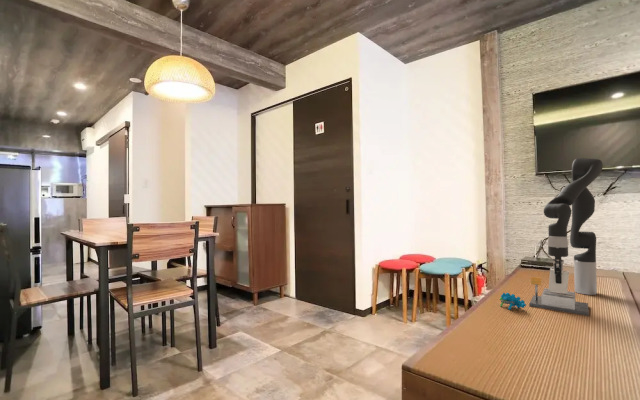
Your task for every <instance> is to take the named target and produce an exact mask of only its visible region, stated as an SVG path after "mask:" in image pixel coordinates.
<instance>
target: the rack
mask: <svg viewBox="0 0 640 400" xmlns="http://www.w3.org/2000/svg"><path fill="white" fill-rule="evenodd" d="M530 279H531V280H530V284H531V285H534V295H532V298H531V300H530V301H529V303H528V304H529V307H531V308H538V309H545V310H550V311H556V312H563V313H568V314H573V315H580V316H584V317H585V316H587V317H589V315H590V314H589V313H590V311H589V310H590V309H589V302H588V303H587V302H582V301H576V292H575V291H568V290H567V294H565V293H560V292H555V291H551V290H548V288H546V287H544V288H543V291H542V292H541V295H539V292H538V286H542V277H538V276H531V277H530Z"/></svg>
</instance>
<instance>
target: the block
mask: <svg viewBox="0 0 640 400" xmlns="http://www.w3.org/2000/svg"><path fill="white" fill-rule="evenodd" d="M554 272H555V270H554V268H551V267H550V268H549V277H548V288H547V289H548V290H551V291H555V292H560V293H565V294H567V291H568V287H569V277H570V271H567V270H564V269H563V270H562V276H561V280H562V283H561V284H559V283H556V278H555V273H554ZM556 272H560V271H556Z"/></svg>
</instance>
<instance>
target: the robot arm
mask: <svg viewBox="0 0 640 400" xmlns="http://www.w3.org/2000/svg"><path fill="white" fill-rule="evenodd" d="M603 168H604V167H603V162H602V160H601V159H597V158H587V157H586V158H585V157H580V158H579V157H577V158H575V159H574V160H573V162H572V164H571V181H572V182H570V183H568V184H567V185H565V186H563V188H562V189H561V191H560V192H559V193H558V195H557V196H555V197H554V198H552V199H551V200H550V201H549V202H547V203H546V204H545V206H544V208H543V214H544V216H545V217H546V218H549V219H557V221H556V222H555V223H550V224H548V229H547V231H548V239H547V252H548V254H547V255H548V256H549V257H550V256H551V257H554V259H553V260H552V263H553V269H554V270H555V272H554V273H555V278H556V283H559V284H561V283H562V280H561V276H562V270H563V271H564V265H565V264H564V263H565V262H564V259H562V258H567V257H569V242H570V246H571V247H572V248H575V249H587V250H586V251H585V252H582V253H576V254H574V256H573V272H574V276H573V277H574V280H573V281H574V284H573V285H574V292H575V293H577V294H583V295H589V296H596V295H597V293H598V292H597V290H598V289H597V286H598V285H597V283H598V282H597V235H596V234H595V233H594V232H593V231H580V229H581V228H582V226H583V225H584V224H585V223H586V221H588V220H589V219H590V218H591V217H592V216H593V214H594V213H595V210H596V209H595V208H596V206H595V205H596V199H595V197H594V194H592V193H591V191H590V189H588V187H589V186H590V185H591V184H592V183H593V182H594V181H595V180H596V179H597V178H598V177H599V176H600V174H601V173H602V170H603ZM570 220H571V227H570V233H569V234H570V236H569V240H568V226H569V223H570ZM556 271H560V272H556Z"/></svg>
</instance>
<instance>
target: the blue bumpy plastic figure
mask: <svg viewBox="0 0 640 400" xmlns="http://www.w3.org/2000/svg"><path fill="white" fill-rule="evenodd" d="M499 300H500V302H501V303H500V306H499V307H500V308H503V305H504V304H506V305H509V306H508V308H507V309H508V310H509V311H510V310H512V309H513V307H517V308H518V309H520V308H522V309H524V308H525V307H526V306H527V304H526V303H525V300H523V299H522V298H521V297H520V296H517V297H516V295H515V294H514V293H513V294H510V292H503V293H502V294H501V295H500V297H499Z"/></svg>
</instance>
